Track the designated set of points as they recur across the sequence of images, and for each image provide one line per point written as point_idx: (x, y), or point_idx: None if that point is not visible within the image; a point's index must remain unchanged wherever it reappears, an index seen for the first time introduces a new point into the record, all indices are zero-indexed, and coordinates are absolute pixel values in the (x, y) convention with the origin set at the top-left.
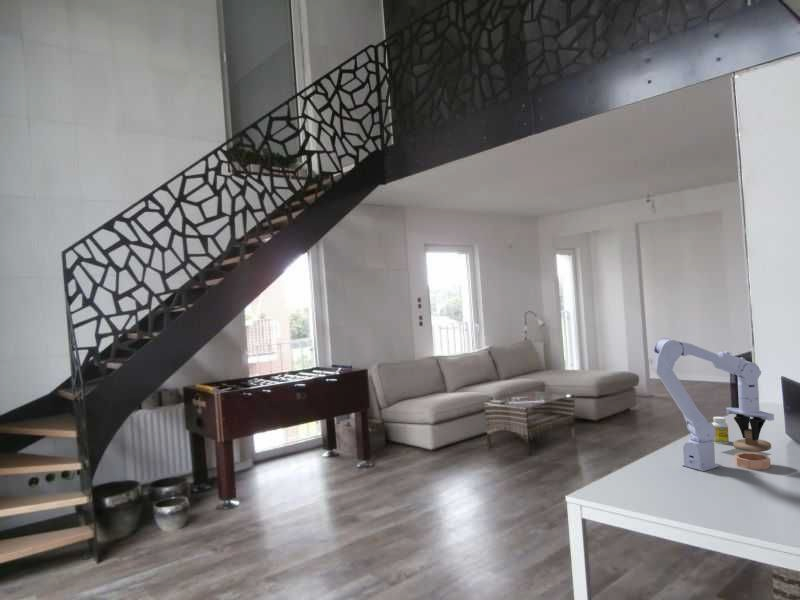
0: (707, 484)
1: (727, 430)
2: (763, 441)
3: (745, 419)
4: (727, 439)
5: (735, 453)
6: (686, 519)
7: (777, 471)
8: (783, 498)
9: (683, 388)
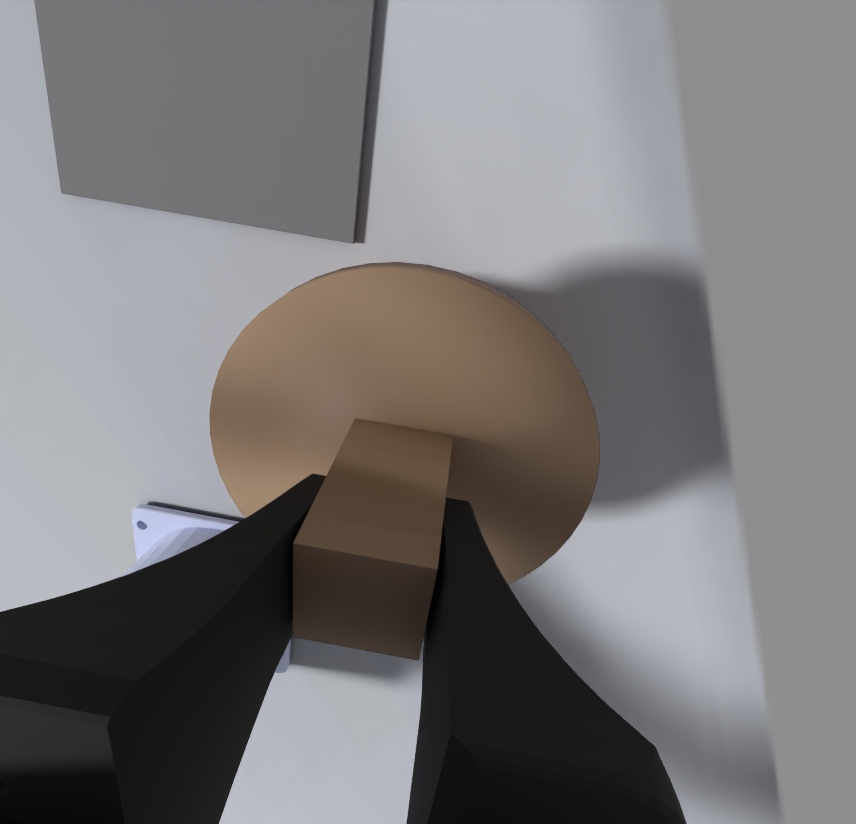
0: (409, 792)
1: None
2: (472, 328)
3: (188, 779)
4: None
5: (153, 132)
6: None
7: (610, 415)
8: (735, 793)
9: None
